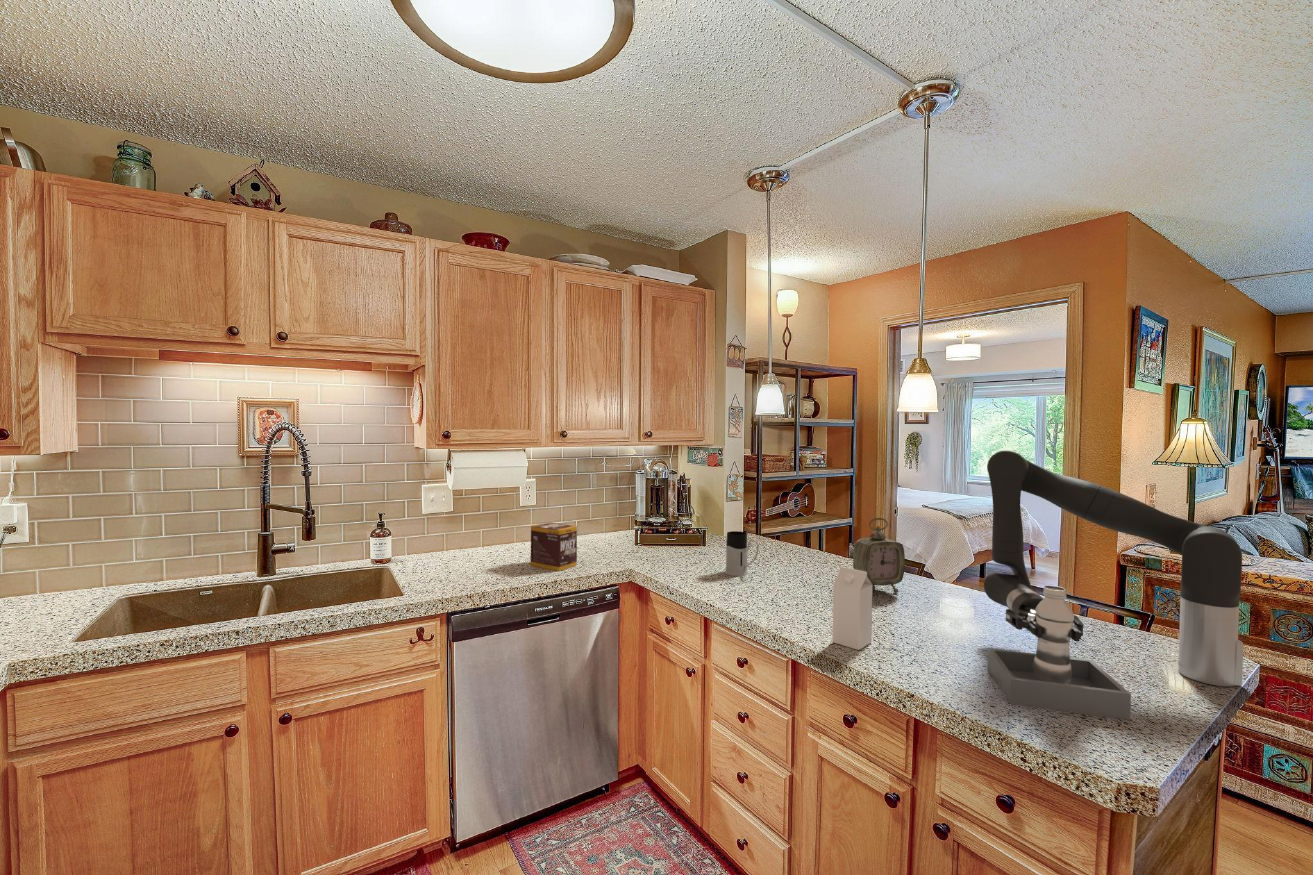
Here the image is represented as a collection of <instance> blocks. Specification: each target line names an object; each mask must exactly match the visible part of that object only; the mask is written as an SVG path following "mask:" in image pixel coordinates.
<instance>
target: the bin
mask: <svg viewBox="0 0 1313 875" xmlns="http://www.w3.org/2000/svg"><path fill="white" fill-rule="evenodd" d="M1035 656H1036V653H1032V652H1022V651H1016V650H1015V651H1014V650H1005V649H996V648H988V649H987V671H988V673H989V674H990V676H991V677H992V679H993V680H994V682H995V684H996V685H997V686H998V688H999V689H1000V691H1001V692H1002V694H1003V695H1004V696H1005V698H1006V700H1007V701H1008V702H1009V704H1011V705H1017V706H1024V707H1031V708H1032V707H1033V708H1038V709H1047V710H1053V711H1061V712H1068V713H1076V714H1083V715H1090V716H1098V717H1103V718H1104V717H1105V718H1113V719H1119V720H1127V721H1130V720H1131V704H1132V703H1131V702H1132V694H1131V692H1129V690H1127V689H1126V688H1124V687H1123V686H1122V685H1121V684H1120V683H1119V682H1118V681H1116V680H1115V679H1114V678H1113V676H1111V675H1110V674H1108V672H1106V671H1105V670H1104V669H1103V668H1102V667H1100V665H1098V664H1097V662H1095V661H1094V660H1093V659H1085V658H1077V657H1070V664H1071V668H1072V678H1071V681H1070V682H1069V683H1068V684H1062V683H1054V682H1046V681H1041V680H1039V679H1038V678H1037V677H1036V675H1035V674H1034V670H1033V662H1034V658H1035Z"/></svg>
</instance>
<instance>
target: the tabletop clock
mask: <svg viewBox="0 0 1313 875" xmlns="http://www.w3.org/2000/svg"><path fill="white" fill-rule="evenodd" d="M878 520H879V521H884V522H885V524H886V525H885V526H884V527H881V526H879V525H877V526H876V528H875V527H872V526H871V524H872V523H873V522H874V521H878ZM888 526H889V522H888V520H887V519H885V518H883V517H874V518H872V519H870V521H869V522H868V527H869V528H870V530H873V532H871V534H870V536H869V537H863V538H859V539H858V540H856V541H855V542H854V544H853V545H854V546H853V552H852V567H853V568H852V569H855V570H860V571H865V572H867V577H868V579H869V580H870V582H871V584H872V591H875V590H876V586H891V587H892V588H893V590H892V591H893V593H894V594H897V593H899V589H898V588H897V587H896V586H895V585H897V584H899V583H901V582H902V581H903V578H904V576H905V575H904V574H905V567H906V566H905V564H906V563H905V562H906V558H905V557H906V555H905V547H904V545H903V544H902V543H900V542H899V541H898V542H897V541H894V540H891V539H889V538H887V535H886V534H885V533H884V532H883V531H884V530H885V529H887V527H888Z"/></svg>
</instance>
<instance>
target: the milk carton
mask: <svg viewBox="0 0 1313 875" xmlns="http://www.w3.org/2000/svg"><path fill="white" fill-rule="evenodd" d="M832 586H833V588H832V590H833V593H832V594H833V595H832V643H834V644H837V645H841V646H844V647H847V648H850V649H854V650H857V651H860V650H861V649H863V648H864V647H866V646H868V645H870V644H871V643H872V626H873V625H872V620H873V590H872V584H871V582H870V580H869V579H868V577H867V572H865V571H860V570H855V569H854V568H849V567H844V566H839V571H838V574H837V576H836V578H835V580H834V582H833V585H832Z"/></svg>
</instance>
